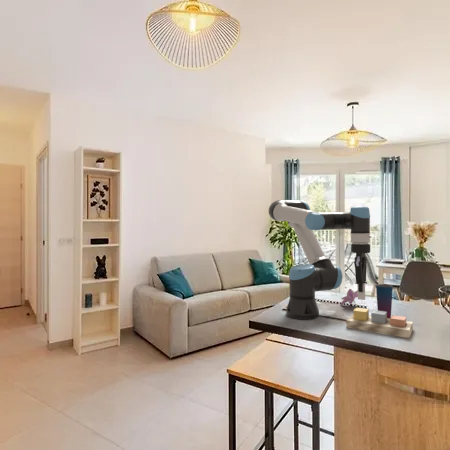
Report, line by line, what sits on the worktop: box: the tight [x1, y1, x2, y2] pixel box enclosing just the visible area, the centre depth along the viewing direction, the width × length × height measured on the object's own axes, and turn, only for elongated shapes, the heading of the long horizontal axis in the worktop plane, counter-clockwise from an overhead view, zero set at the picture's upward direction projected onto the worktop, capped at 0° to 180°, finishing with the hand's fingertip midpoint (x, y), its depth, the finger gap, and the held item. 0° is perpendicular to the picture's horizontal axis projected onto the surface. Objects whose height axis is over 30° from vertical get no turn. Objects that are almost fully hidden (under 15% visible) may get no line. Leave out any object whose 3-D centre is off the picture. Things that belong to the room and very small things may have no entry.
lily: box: [340, 288, 358, 308], centre depth 168 cm, size 12×12×10 cm
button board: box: [345, 314, 414, 339], centre depth 135 cm, size 23×12×3 cm, turn 55°
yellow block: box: [352, 307, 370, 321], centre depth 139 cm, size 5×5×4 cm
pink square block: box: [390, 314, 407, 327], centre depth 131 cm, size 5×5×4 cm
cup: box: [375, 283, 394, 318], centre depth 147 cm, size 7×7×15 cm
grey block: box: [370, 309, 387, 324], centre depth 135 cm, size 5×5×4 cm
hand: (361, 299), depth 138 cm, fingers closed
